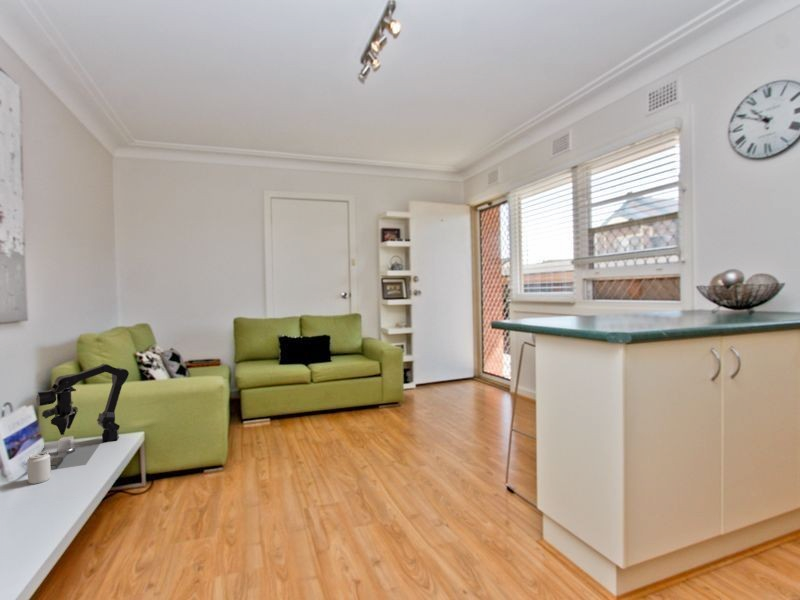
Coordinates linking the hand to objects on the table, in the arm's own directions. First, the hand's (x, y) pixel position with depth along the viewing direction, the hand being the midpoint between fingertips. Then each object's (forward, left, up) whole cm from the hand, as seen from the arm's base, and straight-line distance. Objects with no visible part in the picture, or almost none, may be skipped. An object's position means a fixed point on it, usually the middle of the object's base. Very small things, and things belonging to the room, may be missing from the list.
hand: (65, 431), depth 208 cm
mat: (-4, +7, -11) cm, 14 cm away
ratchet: (0, +9, -11) cm, 14 cm away
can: (+1, +31, -11) cm, 33 cm away
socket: (0, 0, -8) cm, 9 cm away
